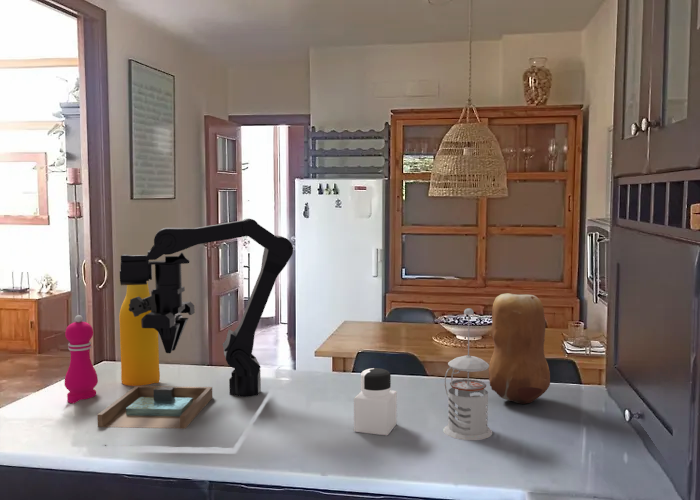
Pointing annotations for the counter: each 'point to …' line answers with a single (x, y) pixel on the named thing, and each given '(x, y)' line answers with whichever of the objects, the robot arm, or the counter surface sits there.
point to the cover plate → (159, 404)
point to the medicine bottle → (375, 403)
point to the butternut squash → (518, 348)
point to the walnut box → (118, 417)
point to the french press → (467, 399)
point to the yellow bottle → (137, 343)
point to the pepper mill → (80, 362)
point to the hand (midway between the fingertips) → (170, 351)
